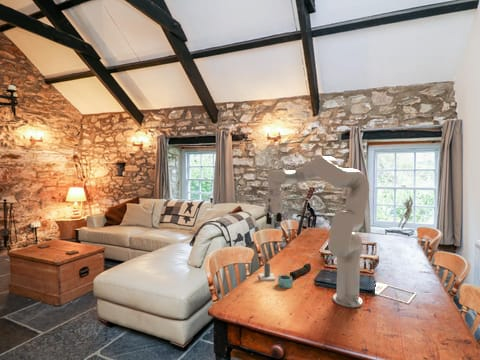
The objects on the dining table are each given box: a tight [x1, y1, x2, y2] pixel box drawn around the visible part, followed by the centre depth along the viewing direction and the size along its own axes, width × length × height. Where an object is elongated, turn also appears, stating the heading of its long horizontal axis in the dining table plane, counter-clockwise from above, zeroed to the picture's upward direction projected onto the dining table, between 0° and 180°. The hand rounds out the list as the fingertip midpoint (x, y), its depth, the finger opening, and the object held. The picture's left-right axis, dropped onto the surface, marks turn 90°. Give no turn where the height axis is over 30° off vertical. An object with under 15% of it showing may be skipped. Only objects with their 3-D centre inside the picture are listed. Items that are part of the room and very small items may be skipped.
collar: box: [277, 274, 294, 289], centre depth 146 cm, size 7×7×4 cm
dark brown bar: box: [289, 263, 312, 280], centre depth 161 cm, size 19×4×5 cm, turn 133°
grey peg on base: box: [258, 262, 276, 282], centre depth 156 cm, size 8×8×8 cm
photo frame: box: [374, 281, 418, 305], centre depth 138 cm, size 15×1×18 cm
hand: (274, 222), depth 160 cm, fingers open, 9 cm apart
